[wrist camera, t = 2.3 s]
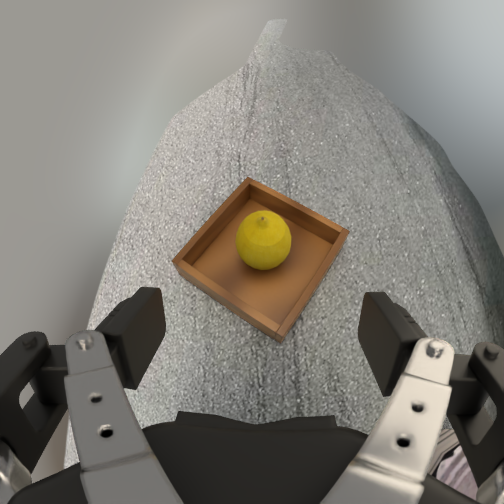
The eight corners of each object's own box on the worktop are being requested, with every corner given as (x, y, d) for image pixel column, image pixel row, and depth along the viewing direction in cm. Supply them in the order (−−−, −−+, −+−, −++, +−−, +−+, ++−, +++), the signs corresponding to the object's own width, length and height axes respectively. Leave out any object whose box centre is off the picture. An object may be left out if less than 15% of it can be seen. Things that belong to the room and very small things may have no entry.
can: (386, 418, 25) (450, 422, 14) (463, 428, 23) (533, 426, 12) (348, 512, 20) (391, 558, 9) (431, 514, 18) (491, 540, 7)
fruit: (283, 285, 32) (290, 250, 25) (233, 276, 32) (225, 239, 25) (291, 241, 34) (298, 198, 27) (244, 233, 35) (240, 189, 28)
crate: (179, 274, 33) (171, 260, 30) (248, 194, 38) (247, 176, 35) (280, 343, 29) (283, 337, 26) (342, 246, 34) (349, 231, 31)
